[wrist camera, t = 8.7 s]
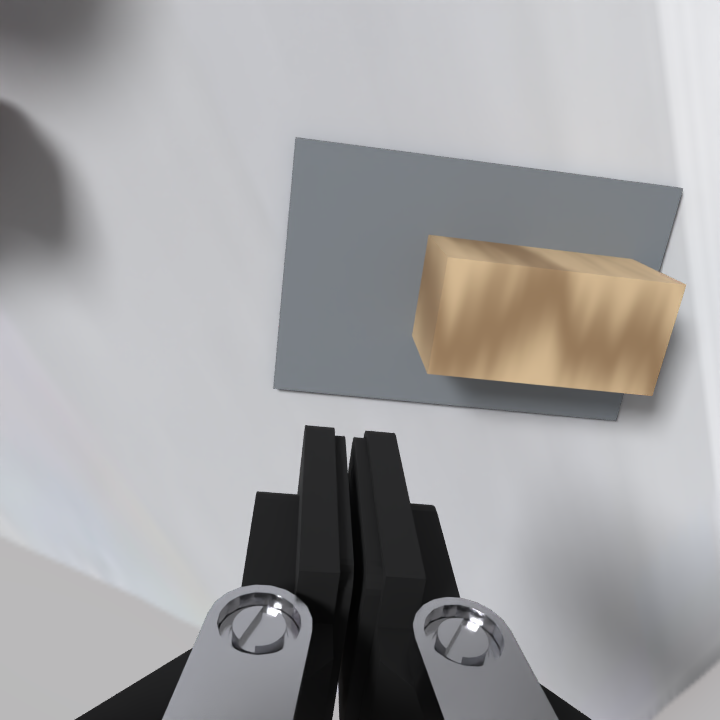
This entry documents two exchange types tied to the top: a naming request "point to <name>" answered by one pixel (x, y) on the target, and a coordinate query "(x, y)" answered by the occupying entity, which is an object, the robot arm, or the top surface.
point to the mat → (406, 259)
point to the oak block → (543, 316)
